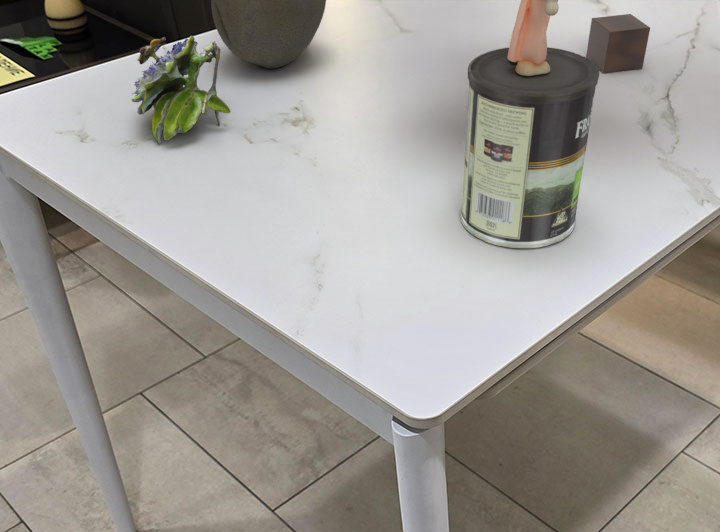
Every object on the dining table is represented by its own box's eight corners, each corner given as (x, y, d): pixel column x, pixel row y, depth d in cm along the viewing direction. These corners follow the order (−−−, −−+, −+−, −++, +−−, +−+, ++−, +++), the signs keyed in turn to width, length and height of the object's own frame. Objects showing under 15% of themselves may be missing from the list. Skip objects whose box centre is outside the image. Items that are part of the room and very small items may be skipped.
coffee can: (574, 193, 80) (597, 46, 71) (576, 254, 72) (602, 97, 63) (464, 185, 82) (473, 42, 73) (453, 244, 74) (462, 91, 65)
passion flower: (169, 157, 101) (167, 55, 101) (251, 150, 97) (250, 44, 97) (112, 142, 90) (110, 29, 90) (202, 134, 86) (201, 15, 86)
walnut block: (623, 53, 106) (630, 13, 103) (642, 68, 102) (650, 27, 99) (585, 58, 105) (591, 17, 102) (603, 73, 102) (610, 32, 99)
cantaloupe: (322, 84, 103) (316, -46, 94) (208, 83, 104) (191, -44, 95) (335, 41, 114) (330, -78, 105) (231, 41, 115) (218, -76, 106)
